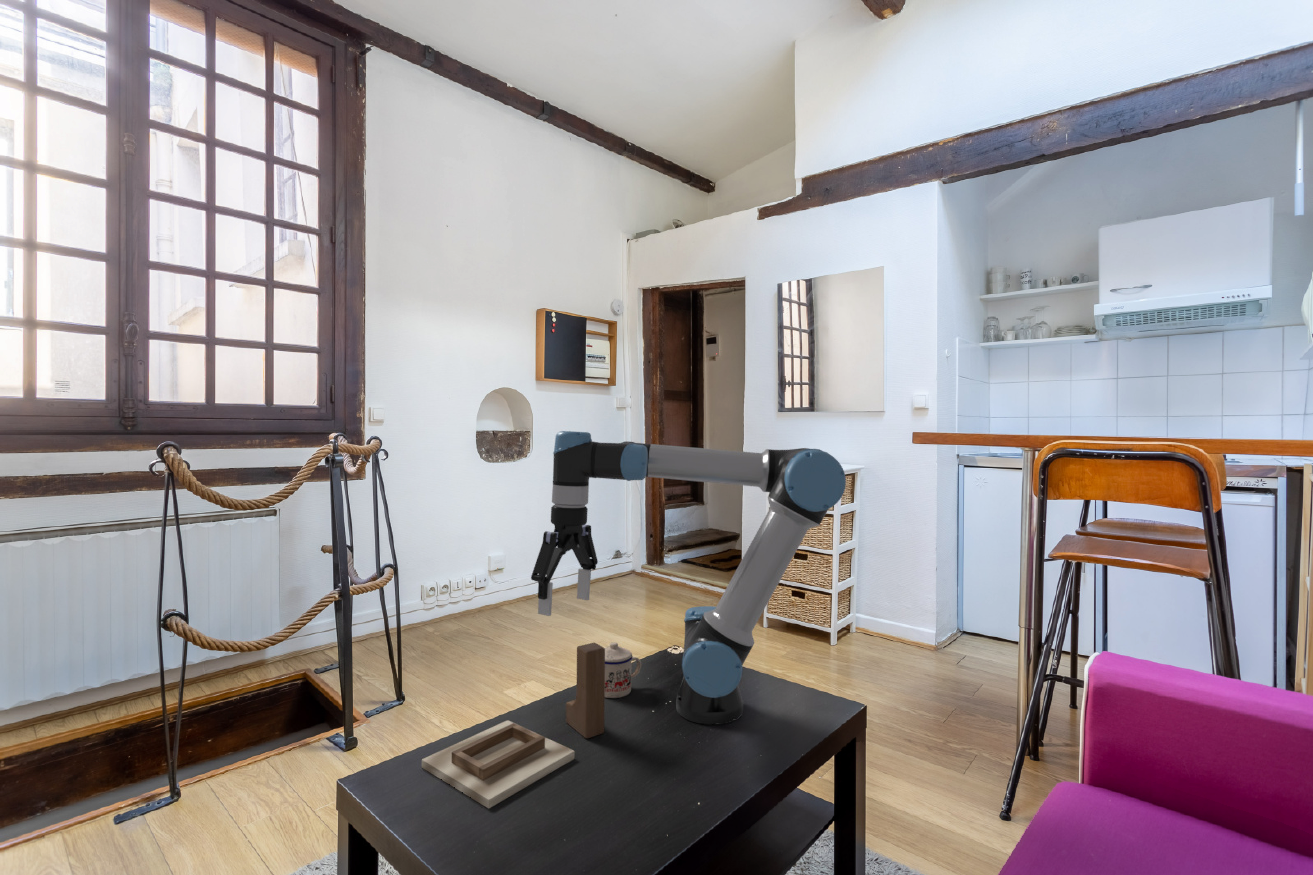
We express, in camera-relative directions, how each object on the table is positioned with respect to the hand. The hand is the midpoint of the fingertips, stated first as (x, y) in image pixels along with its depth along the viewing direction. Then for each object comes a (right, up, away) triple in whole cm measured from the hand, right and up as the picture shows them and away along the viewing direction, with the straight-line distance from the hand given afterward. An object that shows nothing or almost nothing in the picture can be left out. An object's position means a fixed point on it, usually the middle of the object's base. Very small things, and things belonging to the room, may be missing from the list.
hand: (564, 606), depth 128 cm
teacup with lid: (+10, -26, +22) cm, 36 cm away
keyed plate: (-11, -26, -12) cm, 31 cm away
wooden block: (+4, -27, +2) cm, 27 cm away
